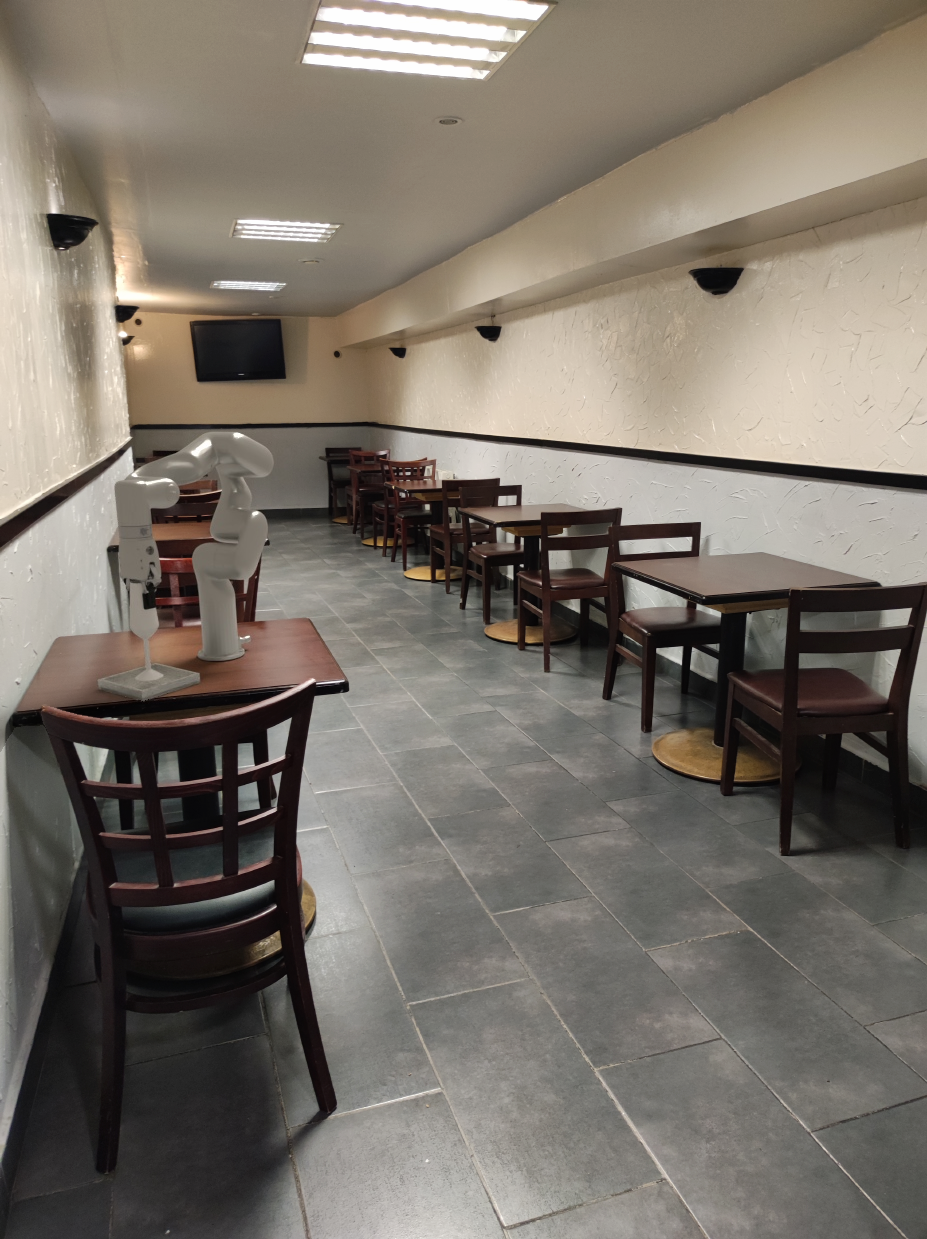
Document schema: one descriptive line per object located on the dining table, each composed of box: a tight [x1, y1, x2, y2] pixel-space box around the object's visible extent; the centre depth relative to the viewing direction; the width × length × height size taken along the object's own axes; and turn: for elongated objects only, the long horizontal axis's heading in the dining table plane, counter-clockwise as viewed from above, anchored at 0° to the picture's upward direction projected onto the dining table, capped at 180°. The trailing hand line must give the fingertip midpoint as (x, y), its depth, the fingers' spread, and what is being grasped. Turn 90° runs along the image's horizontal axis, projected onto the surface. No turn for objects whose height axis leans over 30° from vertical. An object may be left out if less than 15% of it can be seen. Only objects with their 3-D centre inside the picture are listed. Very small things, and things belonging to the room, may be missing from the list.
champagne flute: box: [129, 580, 163, 681], centre depth 208 cm, size 7×7×24 cm
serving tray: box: [97, 662, 201, 702], centre depth 211 cm, size 17×17×2 cm
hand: (142, 606), depth 206 cm, fingers closed on champagne flute, 4 cm apart
